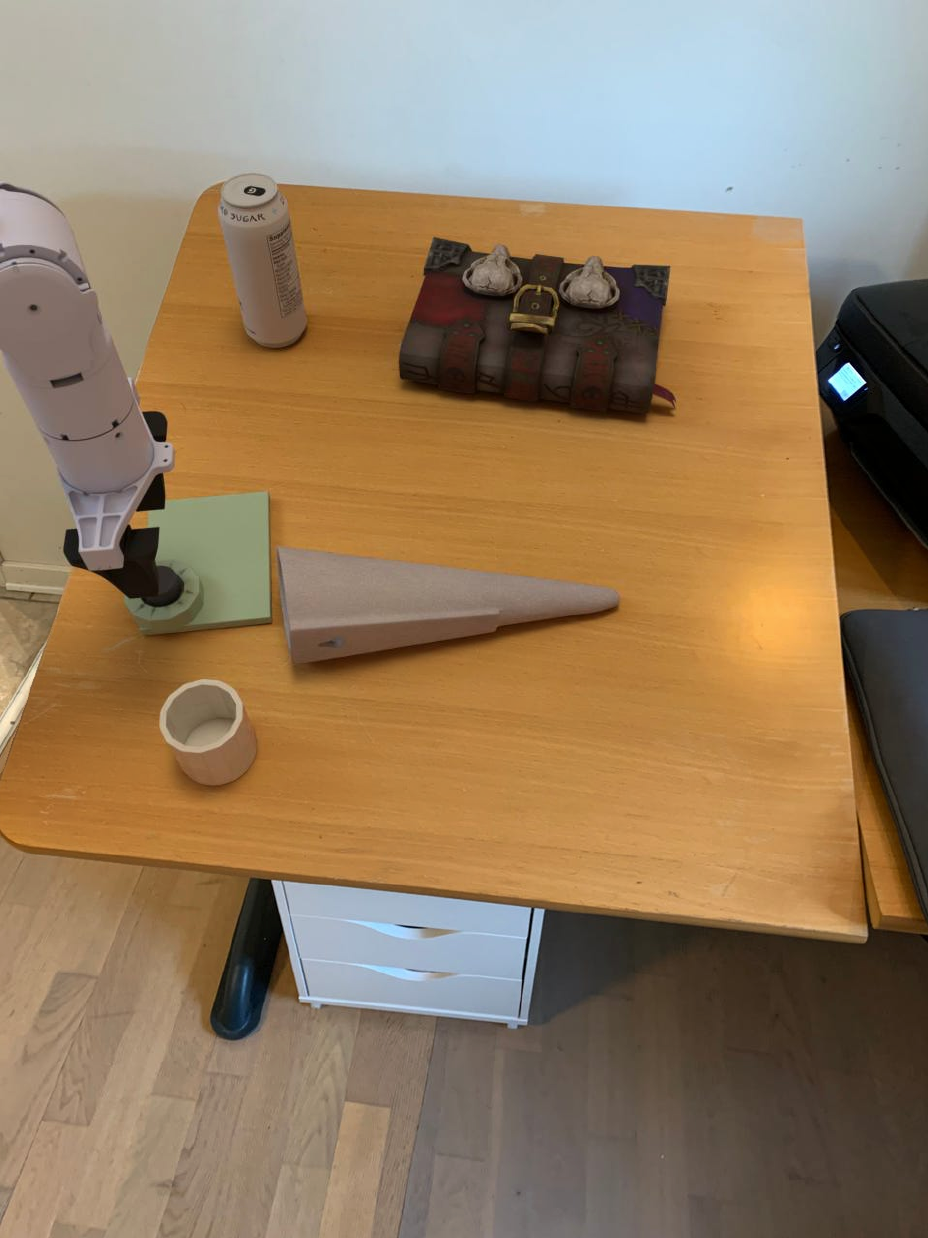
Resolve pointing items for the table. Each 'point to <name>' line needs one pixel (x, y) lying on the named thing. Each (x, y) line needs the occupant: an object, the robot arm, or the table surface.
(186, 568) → the scale
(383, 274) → the table surface
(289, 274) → the energy drink can
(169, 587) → the button
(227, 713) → the cup
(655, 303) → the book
